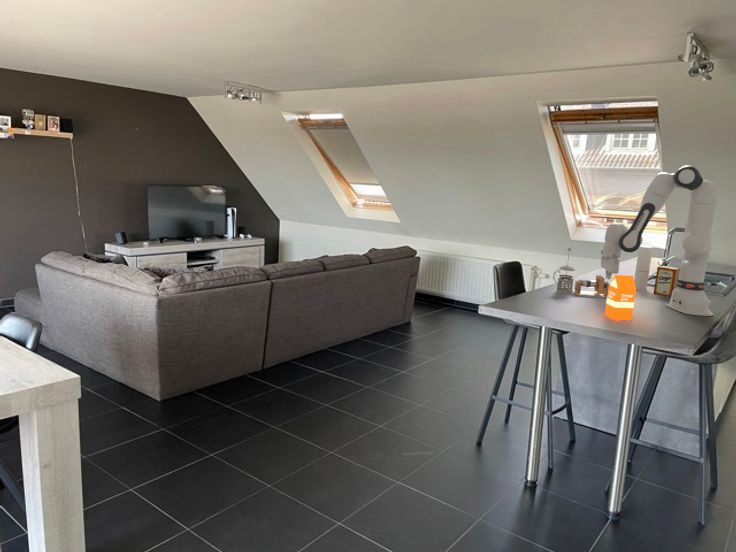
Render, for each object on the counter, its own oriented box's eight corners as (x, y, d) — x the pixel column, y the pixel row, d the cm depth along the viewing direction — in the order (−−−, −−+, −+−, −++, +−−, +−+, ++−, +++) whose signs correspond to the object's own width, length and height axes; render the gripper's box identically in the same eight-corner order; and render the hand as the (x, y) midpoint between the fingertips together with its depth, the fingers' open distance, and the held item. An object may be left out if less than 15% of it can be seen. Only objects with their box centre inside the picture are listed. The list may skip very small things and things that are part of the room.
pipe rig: (613, 298, 289) (615, 284, 288) (576, 295, 292) (578, 281, 290) (607, 294, 300) (609, 280, 298) (571, 291, 302) (573, 277, 301)
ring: (602, 294, 291) (604, 278, 289) (598, 293, 291) (600, 278, 289) (598, 290, 299) (600, 275, 297) (594, 290, 299) (596, 275, 298)
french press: (570, 296, 289) (576, 250, 284) (548, 292, 296) (554, 247, 291) (575, 293, 297) (581, 248, 292) (554, 290, 304) (560, 245, 299)
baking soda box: (675, 296, 304) (680, 267, 301) (671, 297, 300) (675, 268, 297) (657, 292, 311) (662, 265, 308) (653, 293, 307) (657, 266, 304)
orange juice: (604, 315, 252) (610, 273, 248) (622, 316, 252) (628, 274, 248) (613, 320, 244) (619, 276, 240) (631, 321, 245) (638, 277, 241)
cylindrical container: (643, 288, 323) (649, 246, 318) (648, 290, 316) (655, 248, 311) (631, 287, 323) (637, 245, 319) (635, 289, 316) (642, 247, 312)
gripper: (623, 256, 280) (620, 283, 283) (612, 251, 300) (608, 275, 302) (611, 256, 281) (607, 282, 283) (600, 250, 301) (596, 274, 303)
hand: (607, 278), depth 293 cm, fingers closed
